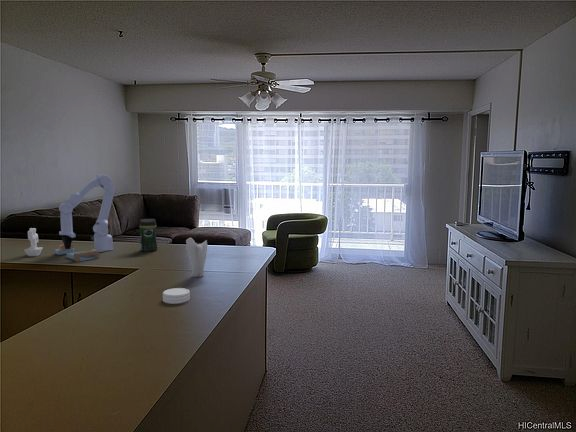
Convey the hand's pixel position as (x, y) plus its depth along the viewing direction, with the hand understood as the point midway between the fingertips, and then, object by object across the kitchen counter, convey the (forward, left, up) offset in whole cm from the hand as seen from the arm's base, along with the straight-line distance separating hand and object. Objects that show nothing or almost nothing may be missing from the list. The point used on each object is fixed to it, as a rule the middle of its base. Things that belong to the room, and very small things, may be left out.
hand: (67, 248), depth 243 cm
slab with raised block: (0, -4, -3) cm, 5 cm away
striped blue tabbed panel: (0, +15, -3) cm, 15 cm away
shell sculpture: (-15, +91, -3) cm, 92 cm away
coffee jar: (-35, +25, -3) cm, 43 cm away
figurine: (+13, -11, -3) cm, 18 cm away
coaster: (+13, +111, -3) cm, 111 cm away
